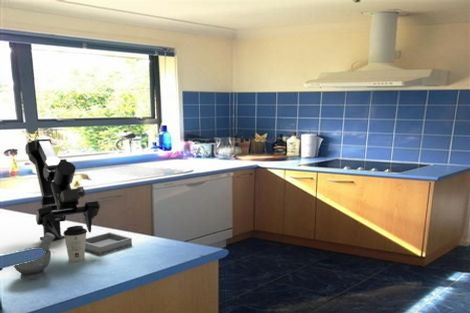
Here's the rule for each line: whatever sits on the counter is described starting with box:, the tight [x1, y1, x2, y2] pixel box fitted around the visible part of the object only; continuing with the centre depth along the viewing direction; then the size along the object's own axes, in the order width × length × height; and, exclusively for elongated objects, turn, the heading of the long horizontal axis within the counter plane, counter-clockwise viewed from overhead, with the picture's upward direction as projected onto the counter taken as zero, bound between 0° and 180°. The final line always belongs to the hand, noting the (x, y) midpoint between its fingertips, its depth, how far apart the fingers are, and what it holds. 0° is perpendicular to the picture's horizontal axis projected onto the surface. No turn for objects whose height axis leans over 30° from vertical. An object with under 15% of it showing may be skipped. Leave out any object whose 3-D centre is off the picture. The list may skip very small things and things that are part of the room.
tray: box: [85, 231, 133, 256], centre depth 150 cm, size 13×13×2 cm
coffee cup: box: [63, 225, 88, 263], centre depth 137 cm, size 7×7×10 cm
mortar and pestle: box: [13, 233, 55, 282], centre depth 123 cm, size 11×9×12 cm
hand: (75, 234), depth 137 cm, fingers open, 9 cm apart
